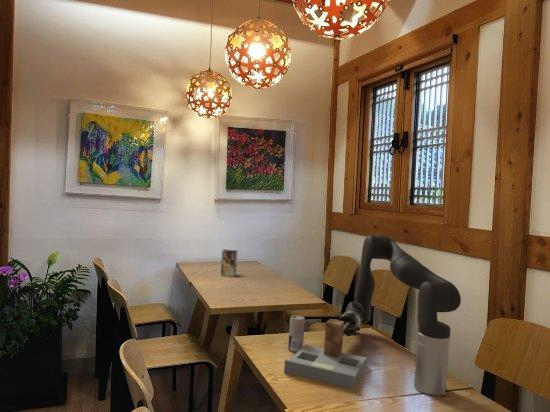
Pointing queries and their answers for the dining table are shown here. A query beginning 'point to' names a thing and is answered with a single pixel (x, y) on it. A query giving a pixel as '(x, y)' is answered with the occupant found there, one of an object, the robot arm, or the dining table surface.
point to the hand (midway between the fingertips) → (337, 334)
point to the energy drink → (296, 333)
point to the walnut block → (333, 338)
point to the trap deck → (326, 366)
